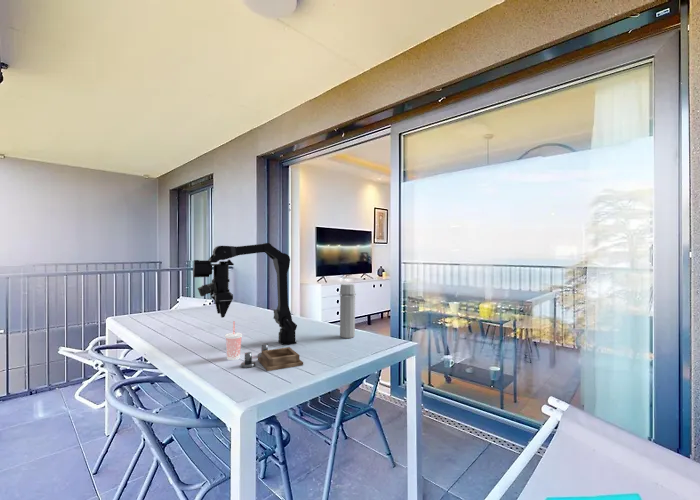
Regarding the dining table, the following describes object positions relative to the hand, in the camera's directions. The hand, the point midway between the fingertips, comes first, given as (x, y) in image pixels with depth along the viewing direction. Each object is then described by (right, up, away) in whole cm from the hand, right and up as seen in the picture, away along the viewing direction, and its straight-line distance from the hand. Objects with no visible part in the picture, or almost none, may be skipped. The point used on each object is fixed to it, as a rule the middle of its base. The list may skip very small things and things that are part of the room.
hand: (220, 315), depth 136 cm
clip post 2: (+19, -15, -5) cm, 25 cm away
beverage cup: (+8, -15, -8) cm, 19 cm away
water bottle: (+51, -15, +24) cm, 58 cm away
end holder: (+27, -15, -12) cm, 33 cm away
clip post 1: (+16, -15, -16) cm, 27 cm away
